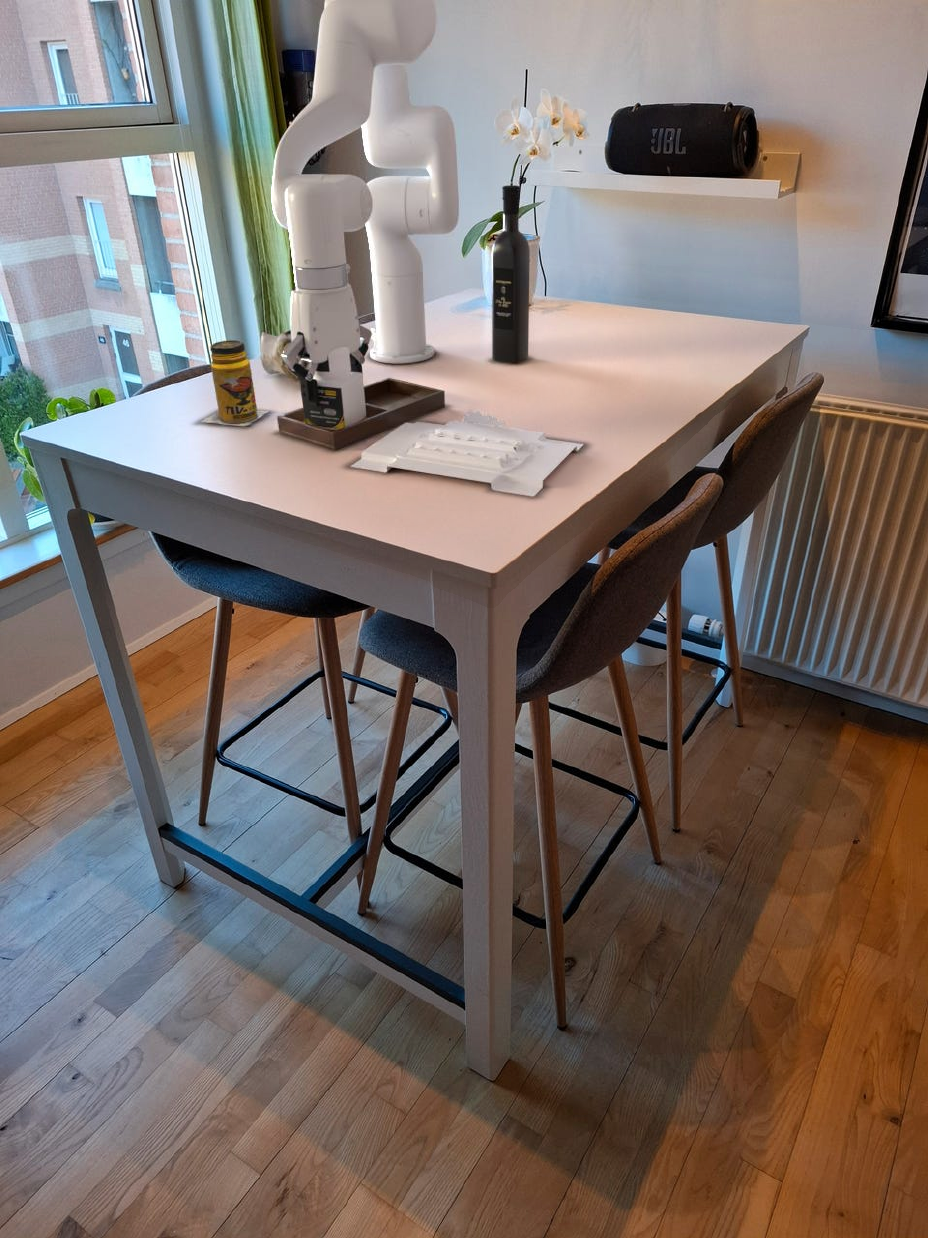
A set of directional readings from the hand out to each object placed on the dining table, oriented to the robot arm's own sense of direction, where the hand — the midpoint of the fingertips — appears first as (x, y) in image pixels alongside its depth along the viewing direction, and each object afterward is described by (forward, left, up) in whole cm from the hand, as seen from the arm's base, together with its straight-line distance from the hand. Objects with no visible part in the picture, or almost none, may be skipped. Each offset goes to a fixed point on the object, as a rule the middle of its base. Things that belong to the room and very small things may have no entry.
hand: (333, 396), depth 136 cm
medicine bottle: (0, 0, -4) cm, 4 cm away
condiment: (-18, -6, -6) cm, 20 cm away
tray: (+24, +4, -6) cm, 25 cm away
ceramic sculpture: (-27, +15, -6) cm, 31 cm away
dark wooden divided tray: (0, +6, -5) cm, 8 cm away
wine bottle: (-2, +47, -6) cm, 47 cm away
